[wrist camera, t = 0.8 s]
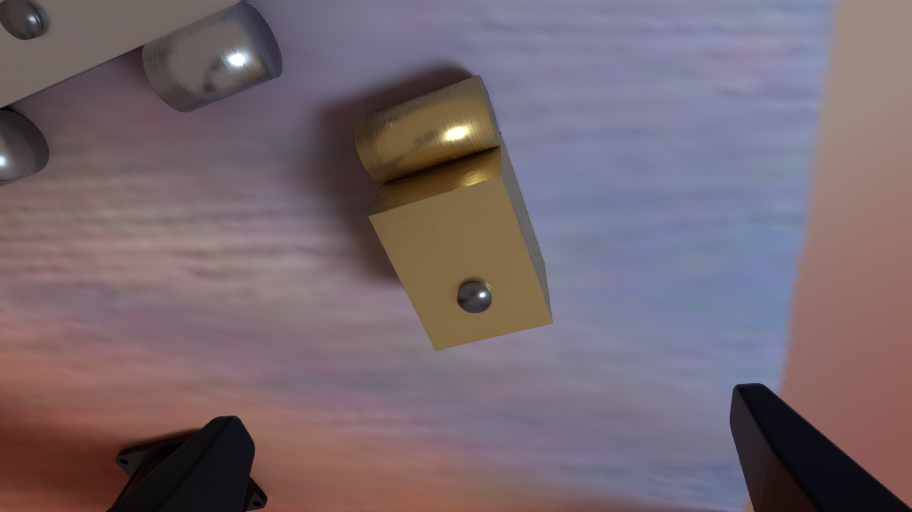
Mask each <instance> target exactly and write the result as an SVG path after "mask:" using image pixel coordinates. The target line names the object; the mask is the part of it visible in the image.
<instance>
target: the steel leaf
mask: <svg viewBox="0 0 912 512" xmlns="http://www.w3.org/2000/svg"><path fill="white" fill-rule="evenodd" d="M244 1H247V0H0V109H2V108H4V107H7V106H9V105H11V104H13V103H16V102H18V101H20V100H22V99H25V98H27V97H29V96H32V95H34V94H36V93H38V92H41V91H43V90H45V89H47V88H50V87H52V86H54V85H56V84H59V83H61V82H63V81H65V80H68V79H70V78H72V77H75V76H77V75H79V74H81V73H84V72H86V71H88V70H90V69H93V68H95V67H97V66H99V65H102V64H104V63H106V62H109V61H111V60H113V59H115V58H118V57H120V56H122V55H124V54H127V53H129V52H131V51H133V50H136V49H138V48H140V47H143V46H144V47H143V50H142V64H143V68H144V71H145V74H146V76H147V78H148V80H149V82H150V84H151V86H152V87H153V89H154V90H155V92H156V93H157V94H158V95H159V97H160V98H161V99H162V100H163V101H164V102H165V103H167V104H168V105H169V106H170V107H172V108H174V109H175V110H177V111H180V112H191V111H193V110H196V109H198V108H201V107H203V106H206V105H208V104H211V103H213V102H216V101H218V100H221V99H224V98H226V97H229V96H231V95H234V94H236V93H239V92H241V91H244V90H246V89H249V88H251V87H254V86H256V85H259V84H261V83H264V82H266V81H269V80H272V79H274V78H277V77H279V76H280V74H281V72H282V58H281V53H280V50H279V47H278V44H277V42H276V39H275V37H274V35H273V33H272V31H271V29H270V27H269V26H268V24H267V23H266V21H265V20H264V18H263V17H262V16H261V15H260V13H259V12H258V11H257V10H256V9H255V8H254V7H252V6H251V5H250V4H248V3H246V2H244ZM48 159H49V150H48V146H47V143H46V141H45V138H44V137H43V135H42V134H41V132H40V131H39V130H38V129H37V127H36V126H35V125H34V124H32V123H31V122H30V121H29V120H27V119H26V118H24V117H23V116H21V115H19V114H17V113H14V112H11V111H6V110H0V187H1V186H4V185H6V184H9V183H11V182H14V181H16V180H19V179H21V178H24V177H26V176H29V175H32V174H34V173H37V172H39V171H41V170H42V169H43V168H44V167H45V166H46V164H47V162H48Z"/></svg>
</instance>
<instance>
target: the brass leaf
mask: <svg viewBox="0 0 912 512" xmlns="http://www.w3.org/2000/svg"><path fill="white" fill-rule="evenodd" d="M353 134H354V141H355V145H356V148H357V152H358V155H359V157H360V160H361V162H362V164H363V166H364V168H365V170H366V172H367V173H368V175H369V176H370V177H371V179H372V180H373V181H374V182H376V183H378V184H381V183H382V186H381V188H380V190H379V193H378V195H377V197H376V200H375V202H374V204H373V206H372V209H371V211H370V213H369V216H368V217H369V219H370V221H371V223H372V225H373V227H374V229H375V231H376V233H377V235H378V237H379V239H380V241H381V243H382V245H383V247H384V249H385V251H386V253H387V255H388V257H389V259H390V261H391V263H392V265H393V267H394V269H395V271H396V273H397V275H398V277H399V279H400V281H401V283H402V285H403V287H404V289H405V291H406V293H407V295H408V297H409V299H410V301H411V303H412V305H413V307H414V309H415V311H416V313H417V315H418V317H419V319H420V321H421V323H422V325H423V327H424V329H425V330H426V332H427V334H428V336H429V338H430V340H431V342H432V344H433V346H434V348H435V350H436V351H437V350H442V349H446V348H450V347H454V346H458V345H463V344H467V343H471V342H475V341H479V340H484V339H488V338H492V337H496V336H501V335H505V334H509V333H513V332H517V331H522V330H526V329H530V328H534V327H538V326H543V325H547V324H551V323H553V321H552V313H551V306H550V299H549V291H548V284H547V277H546V269H545V262H544V259H543V256H542V253H541V250H540V247H539V245H538V242H537V239H536V236H535V233H534V230H533V227H532V224H531V221H530V218H529V215H528V212H527V209H526V206H525V203H524V200H523V197H522V194H521V191H520V188H519V185H518V182H517V179H516V176H515V173H514V170H513V167H512V164H511V161H510V158H509V155H508V152H507V149H506V146H505V143H504V140H503V137H502V134H501V131H500V132H499V129H498V125H497V121H496V117H495V113H494V110H493V107H492V104H491V101H490V98H489V95H488V92H487V89H486V87H485V84H484V82H483V80H482V78H481V76H480V75H477V76H474V77H471V78H468V79H466V80H463V81H460V82H457V83H455V84H452V85H449V86H446V87H443V88H441V89H438V90H435V91H432V92H430V93H427V94H424V95H421V96H418V97H416V98H413V99H410V100H407V101H405V102H402V103H399V104H396V105H393V106H391V107H388V108H385V109H382V110H380V111H377V112H374V113H371V114H368V115H366V116H363V117H360V118H357V119H356V120H355V121H354V125H353Z"/></svg>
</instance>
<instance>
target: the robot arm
mask: <svg viewBox="0 0 912 512" xmlns="http://www.w3.org/2000/svg"><path fill="white" fill-rule="evenodd" d="M730 427H731V431H732V435H733V439H734V442H735V446H736V449H737V453H738V456H739V460H740V463H741V467H742V470H743V474H744V477H745V481H746V484H747V488H748V491H749V495H750V498H751V502H752V505H753V509H754V512H912V509H911V508H910V507H909V506H908V505H907V504H905V503H904V502H903V501H902V500H901V499H900V498H898V497H897V496H896V495H895V494H893V493H892V492H891V491H890V490H889V489H888V488H886V487H885V486H884V485H883V484H882V483H880V482H879V481H878V480H877V479H876V478H875V477H873V476H872V475H871V474H870V473H868V472H867V471H866V470H865V469H864V468H863V467H861V466H860V465H859V464H858V463H857V462H855V461H854V460H853V459H852V458H850V456H848V455H847V454H846V453H845V452H843V451H842V450H841V449H840V448H839V447H838V446H836V445H835V444H834V443H833V442H832V441H831V440H829V439H828V438H827V437H826V436H825V435H823V434H822V433H821V432H820V431H819V430H817V429H816V428H815V427H814V426H813V425H811V424H810V423H809V422H808V421H807V420H806V419H804V418H803V417H802V416H801V415H799V414H798V413H797V412H796V411H795V410H794V409H792V408H791V407H790V406H789V405H788V404H786V403H785V402H784V401H783V400H782V399H781V398H779V397H778V396H777V395H776V394H775V393H773V392H772V391H771V390H770V389H769V388H767V387H766V386H765V385H763V384H760V383H749V384H738V385H736V386H735V387H734V389H733V394H732V402H731V410H730ZM254 455H255V445H254V441H253V439H252V438H251V436H250V435H249V433H248V431H247V430H246V428H245V426H244V425H243V423H242V421H241V420H240V419H239V418H238V417H237V416H219V417H216V418H214V419H212V420H211V421H210V422H209V423H208V424H206V425H205V426H204V427H203V428H202V429H201V430H199V431H198V432H197V433H196V434H193V435H188V436H184V437H179V438H175V439H170V440H166V441H162V442H157V443H153V444H148V445H144V446H139V447H135V448H130V449H126V450H122V451H120V452H119V454H118V455H117V457H116V458H115V461H116V463H117V464H118V465H119V466H120V467H121V468H122V469H123V470H125V471H126V472H127V473H128V474H129V475H130V476H131V478H130V480H129V481H128V483H127V484H126V486H125V487H124V489H123V490H122V492H121V493H120V495H119V496H118V498H117V499H116V501H115V502H114V504H113V506H112V507H111V508H109V509H108V510H107V511H106V512H246V511H250V510H256V509H261V508H264V507H265V505H266V502H267V499H268V498H267V496H266V495H265V494H264V493H263V492H262V490H261V489H260V488H259V487H258V486H257V485H256V483H255V482H254V481H253V480H252V479H251V478H250V477H249V476H250V472H251V468H252V463H253V459H254Z"/></svg>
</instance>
